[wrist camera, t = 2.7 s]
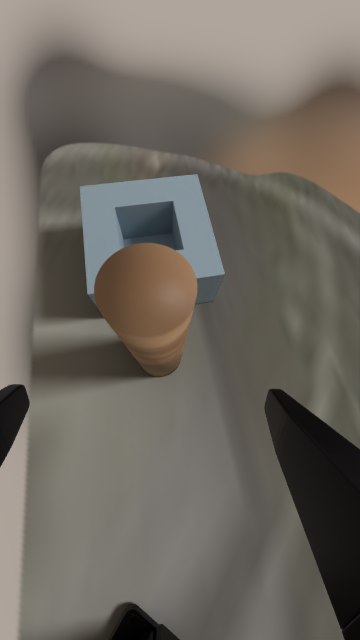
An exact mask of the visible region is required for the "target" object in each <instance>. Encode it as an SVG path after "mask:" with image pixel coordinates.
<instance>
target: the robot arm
mask: <svg viewBox="0 0 360 640" xmlns="http://www.w3.org/2000/svg"><path fill="white" fill-rule="evenodd" d="M28 408H29V398H28V395H27V392H26V389H25V386H24V385H19V384H14V385H9V386H7V387H5V388H3V389H1V390H0V467H1V465H2V463H3V461H4V460H5V457H6V456H7V454H8V452H9V450H10V448H11V446H12V444H13V442H14V440H15V437H16V435H17V433H18V431H19V429H20V426H21V424H22V422H23V420H24V418H25V415H26V413H27V411H28ZM265 414H266V418H267V421H268V425H269V429H270V433H271V437H272V441H273V445H274V448H275V452H276V455H277V458H278V460H279V463H280V466H281V468H282V471H283V474H284V477H285V479H286V482H287V485H288V487H289V490H290V493H291V495H292V498H293V501H294V504H295V506H296V509H297V512H298V514H299V517H300V520H301V522H302V525H303V528H304V531H305V533H306V536H307V539H308V541H309V544H310V547H311V549H312V552H313V555H314V557H315V560H316V563H317V566H318V568H319V571H320V574H321V576H322V579H323V582H324V584H325V587H326V590H327V593H328V595H329V598H330V601H331V603H332V606H333V609H334V611H335V614H336V617H337V620H338V622H339V625H340V628H341V629H342V634H343V636H344V639H345V640H360V449H359V448H357V447H356V446H355V445H353V444H352V443H351V442H349V441H348V440H347V439H346V438H344V437H343V436H342V435H340V434H339V433H338V432H336V431H335V430H334V429H332V428H331V427H330V426H329V425H327V424H326V423H325V422H323V421H322V420H321V419H319V418H318V417H317V416H315V415H314V414H313V413H311V412H310V411H309V410H308V409H306V408H305V407H304V406H302V405H301V404H300V403H298V402H297V401H296V400H294V399H293V398H292V397H291V396H289V395H288V394H287V393H285V392H284V391H283V390H281V389H270V390H269V391H268V394H267V398H266V402H265ZM132 614H133V615H135V617H136V618H135V619H134V620H131V619H130V618H129V616H130V615H132ZM109 640H179V639H178V638H177V637H176V636H175V635H174V634H173V633H172V632H171V631H170V630H168V629H167V628H166V627H165V626H164V625H163V624H157V623H156V622H155V621H154V620H153V619H152V618H151V617H150V616H149V615H147V614H146V613H145V612H144V611H143V610H142V609H141V608H140V607H139V606H138V605H136V604H131V605H129V606H128V608H127V609H126V611H125V612H124V614H123V616H122V618H121V620H120V621H119V623H118V625H117V627H116V628H115V630H114V632H113V634H112V636H111V637H110V639H109Z"/></svg>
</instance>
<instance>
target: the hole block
mask: <svg viewBox="0 0 360 640" xmlns="http://www.w3.org/2000/svg"><path fill="white" fill-rule="evenodd" d="M80 194H81V209H82V223H83V237H84V252H85V266H86V281H87V294H88V296H89V297H90V298H91V300H92V301H93V302H94V304H95V305H96V301H95V297H94V284H95V279H96V276H97V274H98V271H99V269H100V268H101V266H102V265H103V263H104V262H105V261H106V260H107V259H108V258H109V257H110V256H111V255H113V254H114V253H115V252H117V251H119V250H120V249H122V248H125V247H127V246H130V245H133V244H139V243H155V244H160V245H164V246H167V247H169V248H171V249H173V250H175V251H177V252H178V253H180V254H181V255H182V256H183V257H184V258H185V259H186V260H187V261H188V262H189V264H190V265H191V267H192V268H193V271H194V273H195V276H196V279H197V297H196V301H195V304H198V303H205V302H211V301H214V298H215V296H216V294H217V291H218V289H219V287H220V284H221V282H222V280H223V277H224V275H225V273H224V269H223V266H222V262H221V258H220V255H219V251H218V248H217V244H216V240H215V237H214V233H213V230H212V226H211V222H210V219H209V215H208V212H207V208H206V204H205V201H204V197H203V194H202V190H201V186H200V183H199V179H198V176H197V174H195V175H186V176H176V177H166V178H157V179H147V180H137V181H127V182H118V183H108V184H98V185H88V186H80ZM96 306H97V305H96ZM97 308H98V307H97Z"/></svg>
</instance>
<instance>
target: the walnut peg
mask: <svg viewBox="0 0 360 640" xmlns="http://www.w3.org/2000/svg"><path fill="white" fill-rule="evenodd" d="M94 297H95V301H96V305H97V307H98V309H99V311H100V313H101V314H102V316H103V317H104V318H105V320H106V321H107V322H108V324H109V325H110V326H111V328H112V329H113V330H114V331H115V333H116V334H117V335H118V337H119V338H120V339H121V341H122V342H123V343H124V344H125V346H126V347H127V348H128V350H129V351H130V352H131V354H132V355H133V356H134V357H135V359H136V360H137V361H138V363H139V364H140V365H141V367H142V368H143V369H144V370H145V371H146V372H147V373H148V374H150V375H152V376H156V377H163V376H167V375H169V374H171V373H172V372H174V371H175V370H176V368H177V367H178V365H179V363H180V360H181V356H182V352H183V348H184V344H185V340H186V336H187V332H188V329H189V325H190V321H191V317H192V313H193V309H194V305H195V301H196V297H197V279H196V276H195V273H194V271H193V268H192V267H191V265H190V264H189V262H188V261H187V260H186V259H185V258H184V257H183V256H182V255H181V254H180V253H178V252H177V251H175V250H173V249H171V248H169V247H167V246H164V245H160V244H155V243H139V244H133V245H130V246H127V247H125V248H122V249H120V250H119V251H117V252H115V253H114V254H113V255H111V256H110V257H109V258H108V259H107V260H106V261H105V262H104V263H103V265H102V266H101V268H100V269H99V271H98V274H97V276H96V279H95V284H94Z"/></svg>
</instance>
